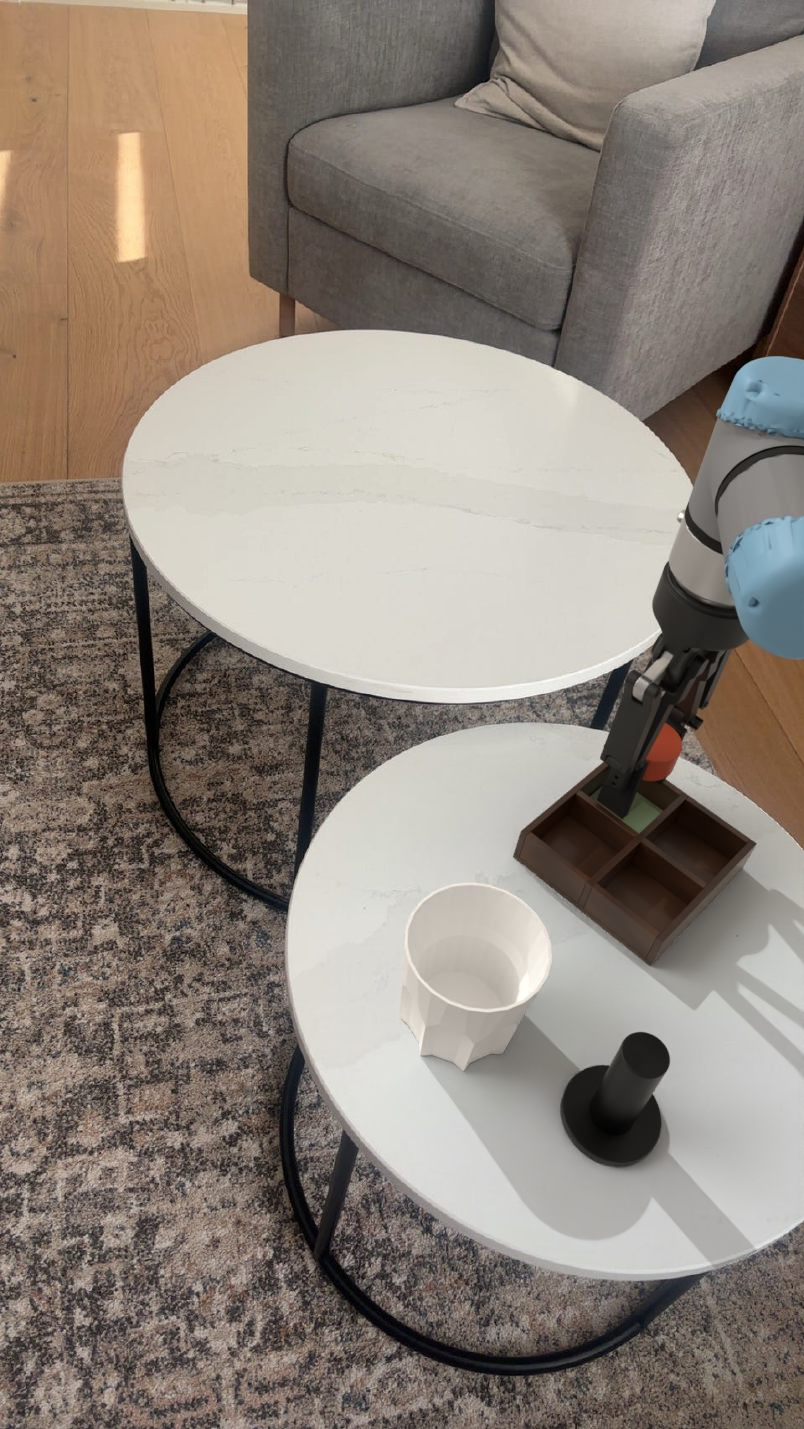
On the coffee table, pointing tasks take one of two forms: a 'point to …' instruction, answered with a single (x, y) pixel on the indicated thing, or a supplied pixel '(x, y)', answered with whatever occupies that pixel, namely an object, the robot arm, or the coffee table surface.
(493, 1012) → the cup
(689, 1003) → the coffee table surface
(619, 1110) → the stand
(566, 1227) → the coffee table surface
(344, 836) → the coffee table surface
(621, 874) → the grid
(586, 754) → the coffee table surface
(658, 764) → the token
